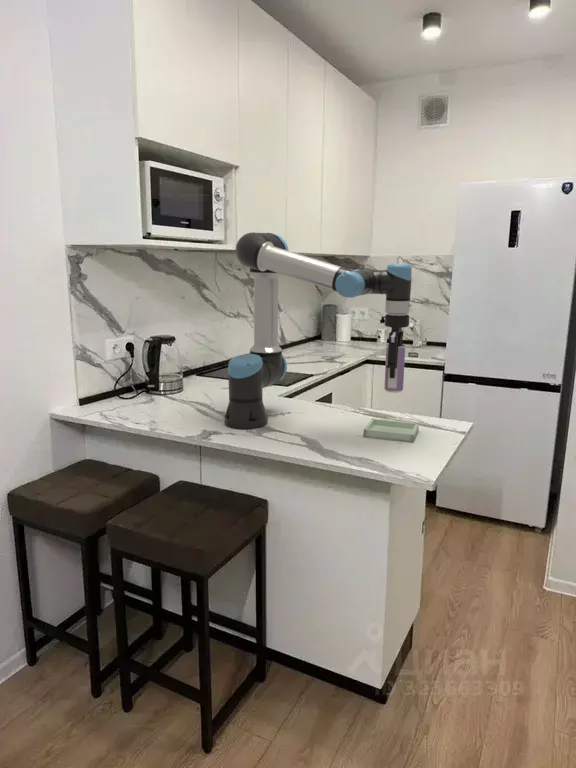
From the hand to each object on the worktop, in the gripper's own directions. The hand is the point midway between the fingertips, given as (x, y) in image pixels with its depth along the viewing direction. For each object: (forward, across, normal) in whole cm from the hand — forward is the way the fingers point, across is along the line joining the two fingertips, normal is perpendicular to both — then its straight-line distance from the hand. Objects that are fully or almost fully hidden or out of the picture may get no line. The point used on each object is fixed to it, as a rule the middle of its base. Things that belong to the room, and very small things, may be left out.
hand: (393, 385), depth 179 cm
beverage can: (+2, 0, 0) cm, 2 cm away
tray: (+16, 0, 0) cm, 16 cm away
